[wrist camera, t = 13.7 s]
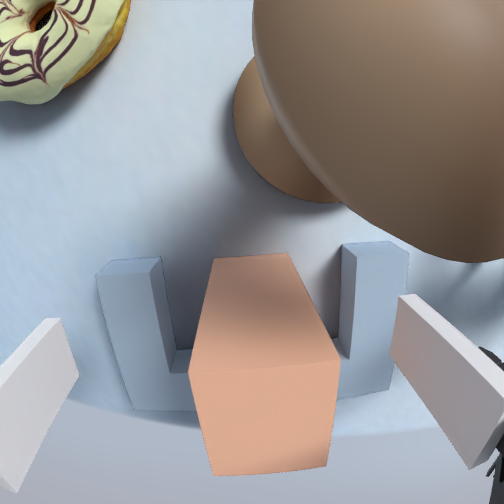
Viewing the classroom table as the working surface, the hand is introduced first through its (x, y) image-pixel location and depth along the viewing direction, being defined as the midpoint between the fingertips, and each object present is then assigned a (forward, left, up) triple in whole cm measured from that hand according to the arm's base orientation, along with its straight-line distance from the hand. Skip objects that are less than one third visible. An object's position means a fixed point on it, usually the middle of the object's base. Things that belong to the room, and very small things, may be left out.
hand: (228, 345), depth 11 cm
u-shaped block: (+1, -3, -7) cm, 8 cm away
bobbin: (+5, +9, -7) cm, 12 cm away
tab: (+1, -1, -7) cm, 7 cm away
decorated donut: (-10, +17, -7) cm, 21 cm away
